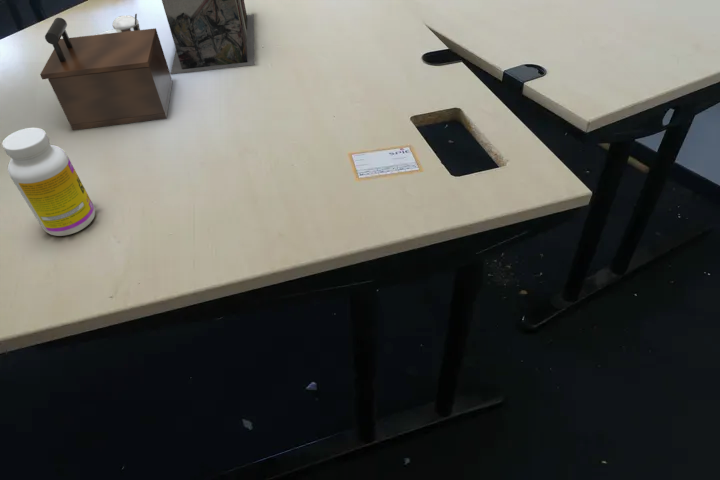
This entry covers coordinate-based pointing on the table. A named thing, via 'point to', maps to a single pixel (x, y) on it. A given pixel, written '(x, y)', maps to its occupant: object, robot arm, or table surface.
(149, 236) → the table surface
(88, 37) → the lid
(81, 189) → the supplement bottle
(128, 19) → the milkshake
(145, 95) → the chest
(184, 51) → the bookend
